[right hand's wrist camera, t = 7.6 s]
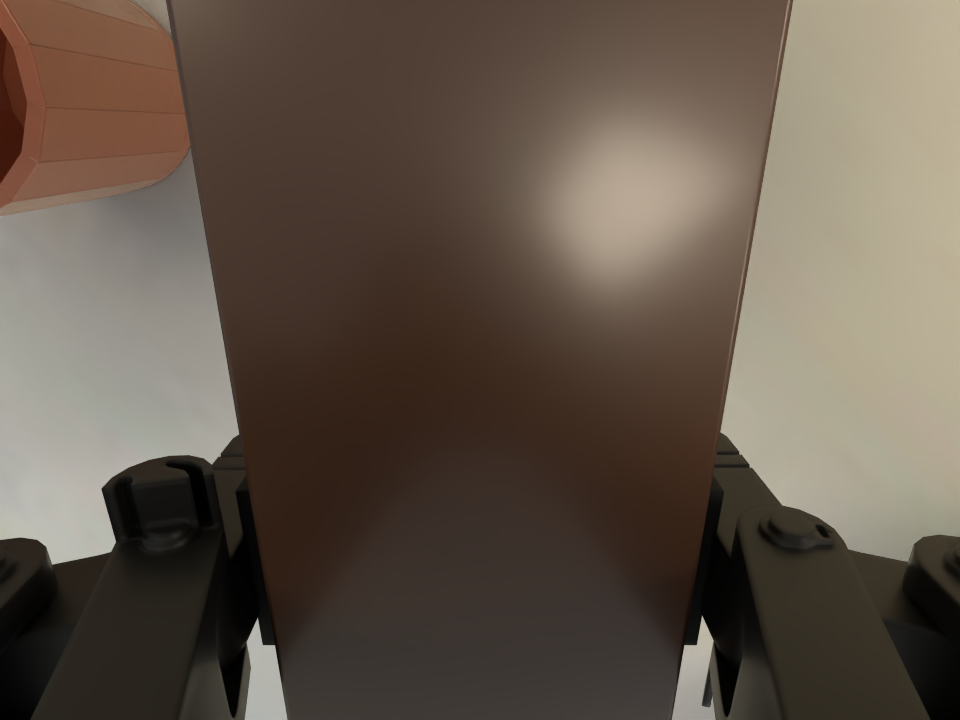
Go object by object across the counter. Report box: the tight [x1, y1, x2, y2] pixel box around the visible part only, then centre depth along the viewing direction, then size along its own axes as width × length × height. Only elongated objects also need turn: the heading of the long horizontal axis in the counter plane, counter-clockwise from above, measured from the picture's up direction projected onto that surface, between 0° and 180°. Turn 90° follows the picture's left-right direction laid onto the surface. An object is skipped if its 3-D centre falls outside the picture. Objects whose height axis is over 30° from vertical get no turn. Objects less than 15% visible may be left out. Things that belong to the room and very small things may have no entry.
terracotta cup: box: [0, 0, 190, 216], centre depth 19 cm, size 7×7×9 cm
